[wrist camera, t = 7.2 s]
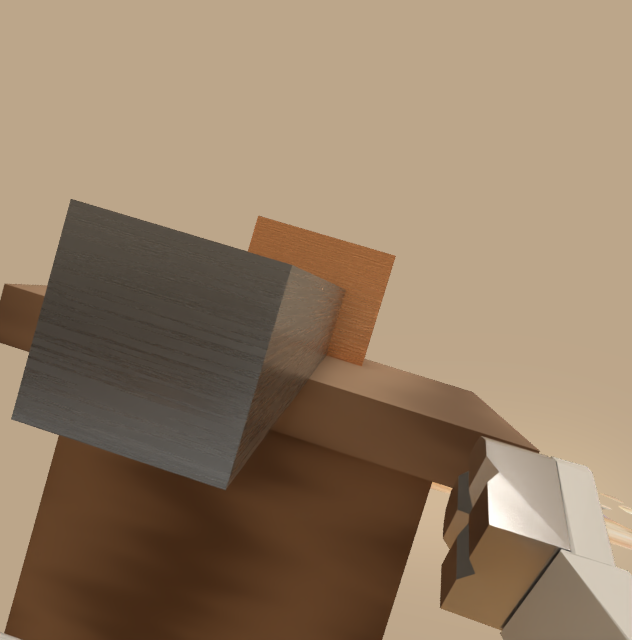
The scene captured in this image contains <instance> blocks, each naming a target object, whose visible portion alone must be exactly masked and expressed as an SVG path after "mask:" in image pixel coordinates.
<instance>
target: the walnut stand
mask: <svg viewBox="0 0 632 640" xmlns="http://www.w3.org/2000/svg"><path fill="white" fill-rule="evenodd" d="M46 289H47V286H43V285H22V284H5V285H4V289H3V293H2V296H1V300H0V343H3V344H6V345H9V346H12V347H15V348H18V349H21V350H25V351H28V352H30V348H31V344H32V341H33V337H34V333H35V330H36V326H37V322H38V319H39V315H40V311H41V307H42V304H43V300H44V296H45V293H46ZM481 436H483V437H486V438H489V439H493V440H496V441H499V442H503V443H506V444H509V445H512V446H516V447H519V448H522V449H526V450H529V451H532V452H536V453H539V450H538V449H537V448H536V447H534V446H533V445H532V444H531V443H530V442H529V441H528V440H527V439H525V438H524V437H523V436H522V435H521V434H520V433H519V432H518V431H516V430H515V429H514V428H513V427H512V426H511V425H509V424H508V423H507V422H506V421H505V420H504V419H503V418H502V417H500V416H499V415H498V414H497V413H496V412H495V411H494V410H493V409H491V408H490V407H489V406H488V405H487V404H486V403H485V402H483V401H482V400H481V399H480V398H479V397H478V396H477V395H475V394H474V393H473V392H471V391H468V390H464V389H461V388H458V387H455V386H451V385H448V384H444V383H442V382H438V381H435V380H432V379H429V378H425V377H422V376H419V375H415V374H412V373H409V372H406V371H402V370H399V369H396V368H393V367H390V366H386V365H383V364H380V363H377V362H373V361H370V360H367V359H364V361H363V364H362V366H359V365H356V364H352V363H349V362H346V361H343V360H339V359H336V358H333V357H330V356H325V358H324V359H323V360H322V362H321V363H320V364H319V366H318V367H317V368H316V370H315V371H314V372H313V374H312V375H311V377H310V378H309V379H308V381H307V382H306V383H305V385H304V386H303V387H302V389H301V390H300V391H299V393H298V394H297V395H296V397H295V398H294V399H293V401H292V402H291V403H290V405H289V406H288V407H287V409H286V410H285V411H284V413H283V414H282V415H281V417H280V418H279V419H278V421H277V422H276V423H275V425H274V426H273V427H272V429H271V430H270V431H269V433H268V434H267V435H266V437H265V438H264V440H263V441H262V442H261V444H260V445H259V446H258V448H257V449H256V450H255V452H254V453H253V454H252V456H251V457H250V458H249V460H248V461H247V462H246V464H245V465H244V466H243V468H242V469H241V470H240V472H239V473H238V474H237V476H236V477H235V478H234V480H233V481H232V482H231V484H230V485H229V486H228V488H227V489H226V490H223V489H220V488H217V487H214V486H211V485H208V484H205V483H202V482H199V481H196V480H193V479H190V478H187V477H184V476H181V475H178V474H175V473H172V472H169V471H166V470H163V469H160V468H157V467H154V466H151V465H148V464H145V463H142V462H139V461H136V460H133V459H130V458H127V457H124V456H121V455H118V454H115V453H112V452H109V451H106V450H103V449H100V448H97V447H94V446H91V445H88V444H85V443H82V442H79V441H76V440H73V439H69V438H66V437H63V436H60V435H59V437H58V441H57V445H56V448H55V452H54V455H53V459H52V463H51V466H50V470H49V473H48V477H47V481H46V484H45V488H44V491H43V495H42V499H41V502H40V506H39V510H38V513H37V517H36V520H35V524H34V528H33V531H32V535H31V539H30V542H29V546H28V550H27V553H26V557H25V560H24V564H23V568H22V571H21V575H20V578H19V582H18V586H17V589H16V593H15V597H14V600H13V604H12V607H11V611H10V614H9V618H8V622H7V626H6V629H5V632H4V634H7V635H10V636H13V637H16V638H19V639H21V640H382V638H383V635H384V632H385V629H386V625H387V622H388V619H389V616H390V613H391V609H392V606H393V603H394V600H395V597H396V594H397V591H398V588H399V585H400V581H401V578H402V575H403V572H404V569H405V566H406V562H407V559H408V556H409V553H410V550H411V547H412V543H413V541H414V537H415V534H416V531H417V528H418V525H419V521H420V518H421V515H422V512H423V509H424V506H425V503H426V500H427V496H428V493H429V490H430V487H431V484H432V482H435V483H439V484H442V485H445V486H448V487H451V488H453V487H454V484H455V482H456V480H457V478H458V476H459V475H461V474H463V473H466V472H468V471H469V454H470V452H471V450H472V448H473V446H474V444H475V443H476V441H477V440H478V439H479V438H480V437H481Z"/></svg>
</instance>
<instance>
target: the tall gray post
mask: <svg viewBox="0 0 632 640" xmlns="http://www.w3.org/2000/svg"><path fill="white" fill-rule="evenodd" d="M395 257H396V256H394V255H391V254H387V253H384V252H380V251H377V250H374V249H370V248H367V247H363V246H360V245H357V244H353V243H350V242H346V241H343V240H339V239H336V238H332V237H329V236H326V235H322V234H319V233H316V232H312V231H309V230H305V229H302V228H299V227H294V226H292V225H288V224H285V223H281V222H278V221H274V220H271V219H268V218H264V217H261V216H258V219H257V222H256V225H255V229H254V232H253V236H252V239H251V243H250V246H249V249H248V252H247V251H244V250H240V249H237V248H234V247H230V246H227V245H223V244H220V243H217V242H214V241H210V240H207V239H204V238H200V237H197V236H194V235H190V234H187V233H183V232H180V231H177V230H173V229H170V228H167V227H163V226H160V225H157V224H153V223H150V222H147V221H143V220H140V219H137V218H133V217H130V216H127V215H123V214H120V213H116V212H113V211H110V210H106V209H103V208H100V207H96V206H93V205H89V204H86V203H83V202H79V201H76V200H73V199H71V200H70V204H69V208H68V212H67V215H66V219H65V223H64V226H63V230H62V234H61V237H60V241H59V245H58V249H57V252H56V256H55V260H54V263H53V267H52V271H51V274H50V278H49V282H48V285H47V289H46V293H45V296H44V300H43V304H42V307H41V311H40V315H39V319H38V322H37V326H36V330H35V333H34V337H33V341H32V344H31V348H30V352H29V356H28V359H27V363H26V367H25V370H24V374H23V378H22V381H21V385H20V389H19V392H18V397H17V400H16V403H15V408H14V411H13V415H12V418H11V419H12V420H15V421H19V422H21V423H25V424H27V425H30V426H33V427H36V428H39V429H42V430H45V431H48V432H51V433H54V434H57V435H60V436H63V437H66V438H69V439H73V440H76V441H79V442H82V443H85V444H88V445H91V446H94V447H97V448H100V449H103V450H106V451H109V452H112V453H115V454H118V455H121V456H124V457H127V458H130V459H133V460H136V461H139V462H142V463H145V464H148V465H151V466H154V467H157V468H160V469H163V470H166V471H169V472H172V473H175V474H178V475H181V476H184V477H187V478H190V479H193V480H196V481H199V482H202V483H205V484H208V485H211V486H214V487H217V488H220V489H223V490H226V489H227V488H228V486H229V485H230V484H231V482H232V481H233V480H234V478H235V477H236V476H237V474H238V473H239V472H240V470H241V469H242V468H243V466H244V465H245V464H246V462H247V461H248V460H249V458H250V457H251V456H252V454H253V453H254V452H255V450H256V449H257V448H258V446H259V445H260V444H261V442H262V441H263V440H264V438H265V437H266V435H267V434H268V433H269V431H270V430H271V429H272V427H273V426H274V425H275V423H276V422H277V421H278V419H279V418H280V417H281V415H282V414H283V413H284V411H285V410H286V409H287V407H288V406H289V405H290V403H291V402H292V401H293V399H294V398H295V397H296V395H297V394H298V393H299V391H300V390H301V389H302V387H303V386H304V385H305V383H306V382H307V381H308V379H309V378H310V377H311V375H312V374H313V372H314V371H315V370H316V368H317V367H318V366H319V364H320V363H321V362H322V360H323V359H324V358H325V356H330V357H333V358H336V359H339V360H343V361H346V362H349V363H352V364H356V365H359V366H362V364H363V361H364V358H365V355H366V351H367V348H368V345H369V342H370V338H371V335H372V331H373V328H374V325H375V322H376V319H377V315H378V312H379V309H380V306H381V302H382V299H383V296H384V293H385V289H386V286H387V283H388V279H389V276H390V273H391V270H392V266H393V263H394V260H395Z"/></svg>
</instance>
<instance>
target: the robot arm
mask: <svg viewBox="0 0 632 640" xmlns="http://www.w3.org/2000/svg"><path fill="white" fill-rule="evenodd" d="M443 539H444V541H445V542H446V544H447V546H448V547H449V549H450V550H449V552H448V554H447V556H446V558H445V560H444V562H443V564H442V569H441V597H440V608H441V609H444V610H447V611H449V612H452V613H455V614H458V615H460V616H463V617H466V618H469V619H472V620H474V621H477V622H480V623H482V624H485V625H488V626H491V627H493V628H496V629H499V630H502V631H501V633H500V634H501V636H502V638H503V640H632V575H631V574H630V573H629V572H628V571H627V570H623V569H621V568H618V567H616V564H615V560H614V556H613V552H612V548H611V544H610V540H609V536H608V532H607V528H606V525H605V521H604V517H603V513H602V509H601V505H600V501H599V497H598V493H597V489H596V485H595V481H594V477H593V473H592V472H591V470H590V469H589V468H588V467H587V466H583V465H580V464H577V463H573V462H569V461H566V460H562V459H559V458H555V457H548V456H546V455H542V454H539V453H536V452H532V451H529V450H526V449H522V448H519V447H516V446H512V445H509V444H506V443H503V442H499V441H496V440H493V439H489V438H486V437H483V436H481V437H480V438H479V439H478V440H477V441H476V443H475V444H474V446H473V448H472V450H471V452H470V454H469V471H468V472H466V473H463V474H461V475H459V476H458V478H457V480H456V482H455V484H454V487H453V489H452V491H451V494H450V497H449V501H448V504H447V507H446V512H445V519H444V528H443ZM0 640H21V639H19V638H16V637H13V636H10V635H7V634H4V633H2V632H0Z"/></svg>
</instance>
